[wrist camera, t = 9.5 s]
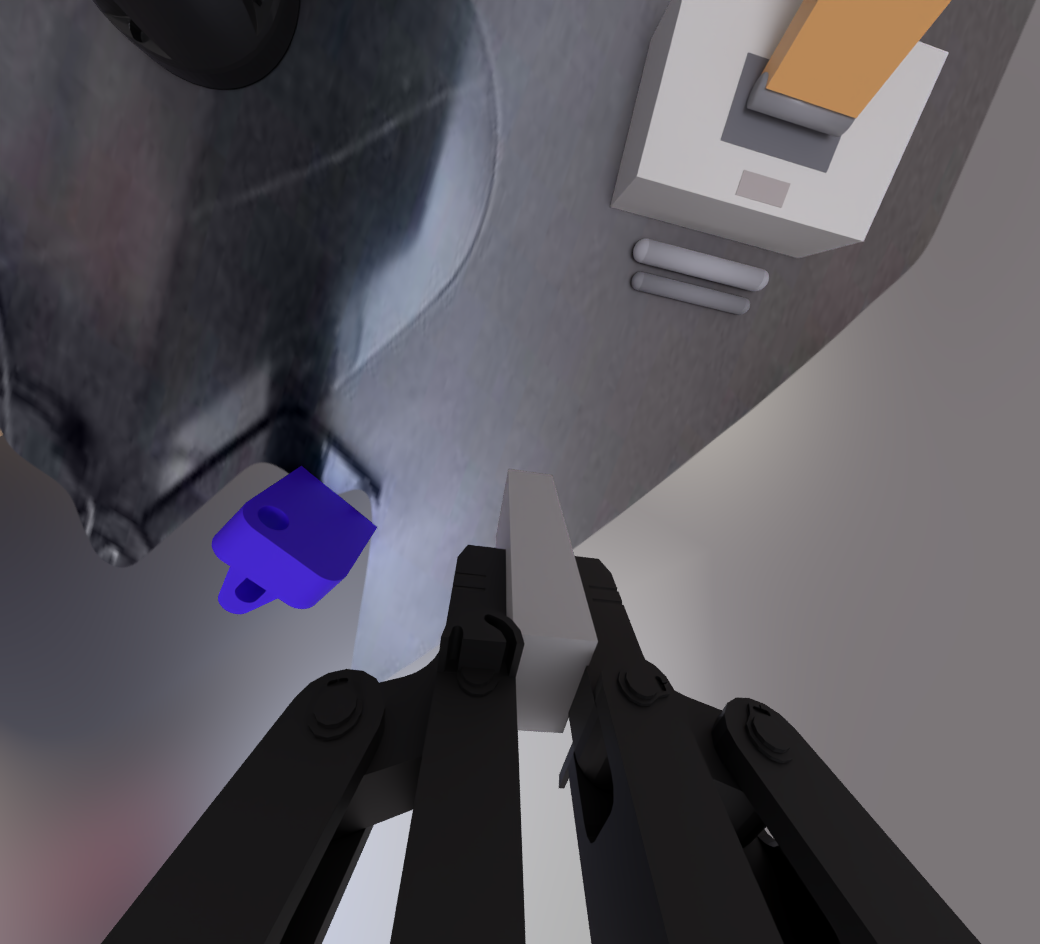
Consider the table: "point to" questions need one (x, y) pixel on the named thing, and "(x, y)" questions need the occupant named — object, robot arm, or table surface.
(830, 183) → the white socket base
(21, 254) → the table surface
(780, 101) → the lever
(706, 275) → the pair of grey rods
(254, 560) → the bracket
